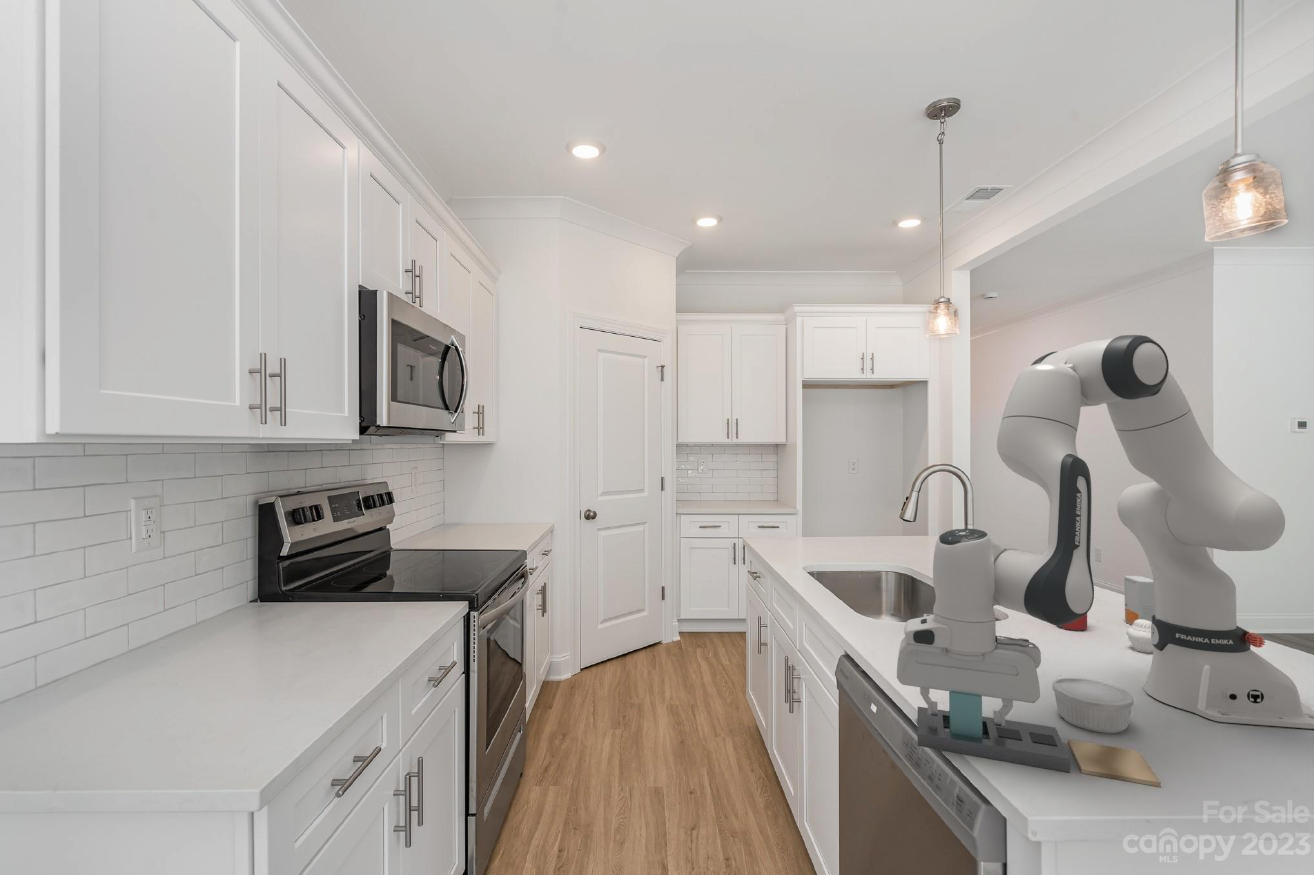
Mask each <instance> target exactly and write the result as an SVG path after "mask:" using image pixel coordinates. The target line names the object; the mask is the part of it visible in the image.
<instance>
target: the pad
mask: <svg viewBox="0 0 1314 875" xmlns="http://www.w3.org/2000/svg"><path fill="white" fill-rule="evenodd" d="M1066 742H1067V746H1068V747H1069V749H1070V752H1071V753H1072V756H1073V758H1074V760H1075V762H1076V764H1077V766H1078V768H1079V770H1080V772H1081V774H1085V775H1091V776H1095V777H1101V778H1102V777H1103V778H1108V779H1114V780H1119V781H1124V782H1130V783H1134V784H1135V783H1137V784H1142V785H1147V786H1152V787H1153V786H1154V787H1159V788H1161V787H1162V784H1161V781H1160V780H1159V778H1158V777H1157V775H1156V773H1155V772H1154V771H1153V769H1152V767H1150V765H1149V764H1148V762H1147V760H1146V759H1145V758H1144V756H1143V754H1141V752H1140V751H1139V750H1137V749H1130V748H1124V747H1118V746H1110V745H1105V744H1100V743H1099V744H1098V743H1093V742H1084V741H1080V740H1074V739H1073V740H1072V739H1067V741H1066Z"/></svg>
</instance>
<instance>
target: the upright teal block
mask: <svg viewBox="0 0 1314 875" xmlns="http://www.w3.org/2000/svg"><path fill="white" fill-rule="evenodd" d="M948 694H949V695H948V701H949V702H948V704H949V706H948V709H949V710H948V711H949V722H950V728H949V733H951V734H957V735H963V736H970V737H976V738H982V739H984V738H983V733H982V716H983V696H980V695H973V694H966V693H959V692H952V691H948Z"/></svg>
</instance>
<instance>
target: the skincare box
mask: <svg viewBox="0 0 1314 875" xmlns="http://www.w3.org/2000/svg"><path fill="white" fill-rule="evenodd" d="M1123 577H1124V622H1125V623H1126V624H1129V626H1130V625H1131V626H1132V625H1133V623H1134V621H1135V620H1138V619H1141V620H1142V619H1144V620H1148V621H1150V622H1152V615H1154V614H1155V601H1154V584H1153V579H1151V578H1149V577H1144V576H1142V575H1124V576H1123Z"/></svg>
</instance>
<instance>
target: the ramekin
mask: <svg viewBox="0 0 1314 875" xmlns="http://www.w3.org/2000/svg"><path fill="white" fill-rule="evenodd" d="M1051 687H1052V691H1053V693H1054V697H1055V699H1054V700H1055V703H1056V709H1057V712H1058V714H1059V715H1060V717H1063V718H1064V721H1066V722H1067V721H1068V722H1067V723H1069V724H1071V725H1073V726H1075V727H1077V728H1081V729H1084V730H1086V731H1087V730H1088V731H1091V732H1096V733H1104V734H1116V733H1117V734H1119V733H1121V732H1123V731H1125V730H1126V729H1127V728H1128V726H1129V724H1130V719H1131V714H1132V713H1131V712H1132V707H1133V706H1134V703H1135V702H1134V697H1133V696H1132V694H1130V693H1129V692H1128V691H1126V690H1125V689H1122V688H1121V687H1119V686H1116V685H1113V684H1109V683H1106V682H1103V681H1098V680H1094V679H1088V678H1082V677H1081V678H1080V677H1062V678H1057V679H1056V680H1054V681H1052V686H1051ZM1063 718H1062V719H1063Z"/></svg>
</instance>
